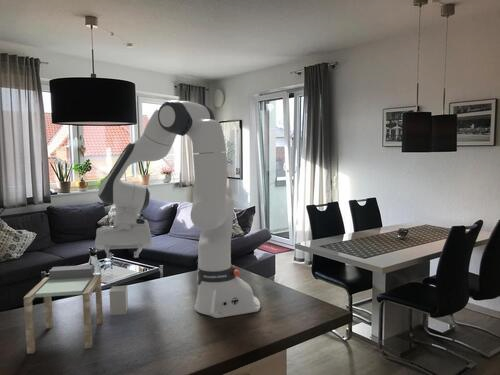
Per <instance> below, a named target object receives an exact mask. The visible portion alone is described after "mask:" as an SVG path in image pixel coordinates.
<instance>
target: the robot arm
mask: <svg viewBox="0 0 500 375" xmlns="http://www.w3.org/2000/svg"><path fill="white" fill-rule="evenodd" d="M215 119H216V118H215V114H214V111H213V110H212V108H210V107H209V106H207V105H206V104H202V103H197V102H193V101H190V100H177V99H174V100H173V99H172V100H167V101H165V102H164V103H163V104H161V106H160V107H159V108H157V109H155V110H154V112H153V114H152V115H151V117H150V118H149V120H148V121H147V123H146V125H145V127H144V130H143V132H142V135H140V137H139V138H138V139H136V140H135V141H132V142H129V143H128V144H127V145H126V146H125V147H124V148H123V150H122V152H121V153H120V155H119V156H118V158H117V160H116V161H115V163H114V165H113V166H112V168H111V169H110V171H109V173H108V174H107V175H106V176H105V178H104V179H103V180H102V182H101V184H100V185H99V188H98V194H97V196H98V197H99V199H100V201H102V202H101V203H103V204H105V205H111V206H113V205H114V207H115V208H114V209H115V214H114V218H113V225H107V226H105V225H102V226H100V227H98V228H97V229H96V231H95V232H96V233H95V235H96V237H95V240H94V246H95V248H96V249H97V250H104V252H105V254H106V259H107V260H108V259H109V260H111V259H112V257H113V254H112V252H110V250H118V249H122V250H123V249H137V250H136V251H135V250H134V251H133V258H139V254H140V253H141V252H142V251H143V249H144V248H145V249H146V248H150V247H152V245H153V242H152V241H153V240H152V233H151V232H152V231H151V229H150V224H149V221H148V220H147V219H144V218H141V217H138V214H139V213H142V212H143V211H144V210H146V209H147V208H148V206H149V204H150V199H151V198H150V196H151V195H150V194H151V192H150V190H149V188H148V187H147V186H145V185H143V184H140V183H139V184H138V183H136V182H130V181H127V180H122V178H123V176H124V175H125V173H126V171H127V169H128V168H129V167H130V166H131V165H133V164H136V163H141V162H142V163H143V162H157V161H160V160H163V159H164V158H165V157H167V156H168V154H169V153H170V152H171V150H172V147H173V144H174V143H175V139H176V138H177V135H179V136H181V137H184V136H185V135H186V136H188V137H189V138H190V140H191V146H192V158H193V160H192V161H193V173H194V176H193V179H194V181H193V182H194V184H193V193H192V206H191V210H190V215H189V216H190V219H191V220H190V221H191V222H192V224H193V225H194V226H195V227H196V228H197V229H198V230H200V236H199V239H198V240H199V241H198V243H197V256H198V257H197V260H198V261H197V262H198V264H197V268H196V269H197V270H196V282H197V294H196V300H195V305H194V306H193V307H194V310H195V311H196V312H198V313H200V314H202V315H207V316H210V317H212V318H215V319H218V318H219V319H220V318H225V317H232V316H238V315H244V314H249V313H257V312H259V311H260V309H261V302H260V299H258V297H257V296H255V295H254V292H253V289H252V287H251V285H250V284H249V283H248V282H247V281H244V280H243V279H241V278H240V277H239V276H240V270H239V269H237V267H236V266H235V265H234V264H233V265H232V262H231V261H232V257H231V256H232V255H231V254H232V249H231V248H232V244H231V243H232V234H233V224H234V223H233V222H234V211H235V210H234V209H235V205H234V201H233V199H232V198H231V197H230V196H229V195H228V194H227V181H228V176H229V175H228V161H227V160H228V158H227V147H226V146H227V145H226V140H225V135H224V131H223V127H222V124H221V123H220V122H219V121H217V120H215Z"/></svg>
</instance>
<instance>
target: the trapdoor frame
mask: <svg viewBox="0 0 500 375" xmlns="http://www.w3.org/2000/svg"><path fill="white" fill-rule="evenodd" d="M48 281H49V276H48V277H44V278H43V279H41V281H39V283H37V284H36V285H35V286H34V287H32V289H31V290H30V291H28V293H26V294H25V296H24V297H23V308H24V310H23V312H24V322H25V325H24V327H25V328H24V329H25V339H26V340H25V341H26V353H27V354H28V355H29V354H34V353H35V351H36V340H35V326H34V324H35V323H34V322H35V321H34V310H33V309H34V308H33V307H34V306H33V300H34V299H35V298H36V297H35V294H36V293H37V292H38V291H39V290H40V289H41V288H42V287H43V286H44V285H45V284H46V283H47V282H48ZM94 291H95V309H96V310H95V312H96V325H102V324H104V314H103V312H104V311H103V296H102V295H103V294H102V274H101V273H97V274H93V275H92V281H91V282H90V283H89V285H88V286H87V288H86V289H85V291H84V292H83V294H82V306H83V307H82V308H83V309H82V310H83V312H82V313H83V327H84V329H83V330H84V346H85V347H84V348H85V349H91V348H93V335H92V334H93V333H92V332H93V330H92V312H91V310H92V308H91V295H92V294H93V293H94ZM43 298H44V311H45V326H46V327H45V328H46V329H52V328H53V327H54V320H53V319H54V318H53V316H54V315H53V304H52V303H53V302H52V301H53V300H52V298H53V297H52V296H49V297H43Z"/></svg>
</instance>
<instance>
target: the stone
mask: <svg viewBox="0 0 500 375" xmlns="http://www.w3.org/2000/svg"><path fill="white" fill-rule="evenodd" d="M128 292H129V290H128V285H117V286H116V285H115V286H114V285H113V286H111V288H110V290H109V310H110V311H109V312H110V316H118V315H121V316H122V315H127V312H128V310H129V294H128Z"/></svg>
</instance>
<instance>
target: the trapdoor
mask: <svg viewBox="0 0 500 375" xmlns="http://www.w3.org/2000/svg"><path fill="white" fill-rule="evenodd" d="M94 273H95V264H84V265H65V266H52V268H50V269H49V270H48V277H49V281H48V282H47V283H46V284H45V285H44V286H43V287H42V288H41V289H40V290H39V291H38V292H37V293H36V294H35V298H44V297H49V296H51V297H62V296H75V295H83V292H84V291H85V289H86V288H87V286H88V285H89V283H90V282H91V281H92V275H94Z"/></svg>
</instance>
